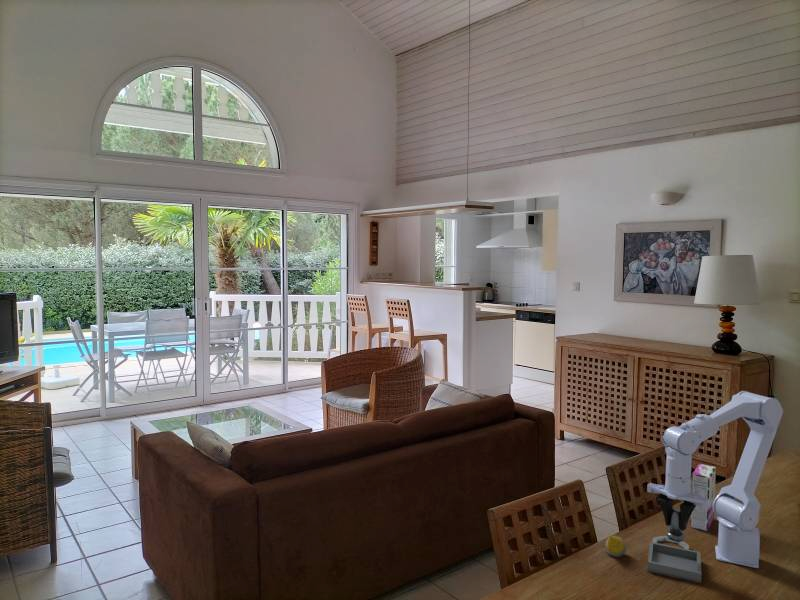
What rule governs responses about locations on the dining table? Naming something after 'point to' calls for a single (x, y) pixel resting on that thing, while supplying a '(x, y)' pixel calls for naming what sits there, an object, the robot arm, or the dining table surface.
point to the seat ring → (664, 538)
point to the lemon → (615, 546)
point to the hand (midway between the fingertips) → (675, 526)
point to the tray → (674, 562)
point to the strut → (675, 526)
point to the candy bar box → (705, 488)
